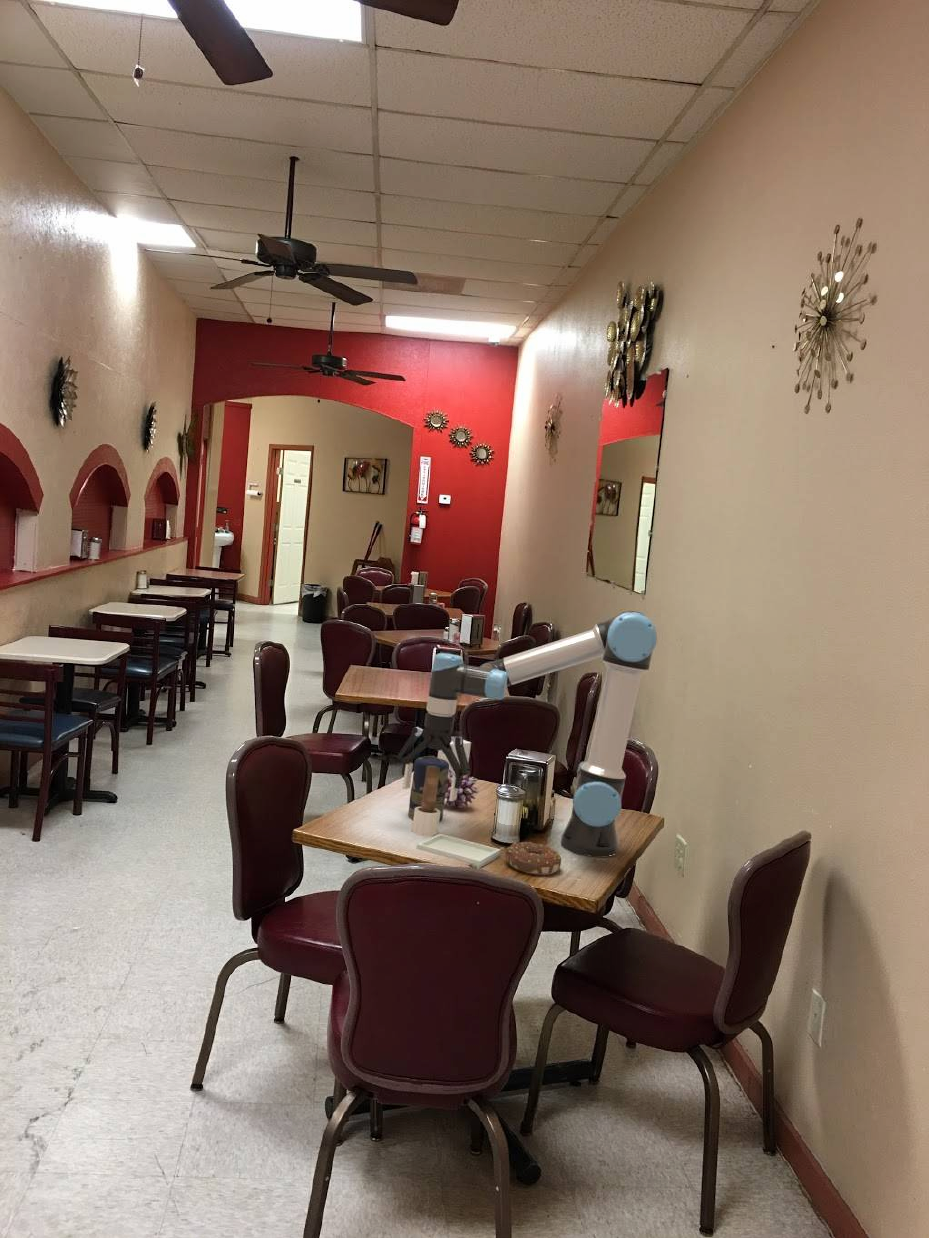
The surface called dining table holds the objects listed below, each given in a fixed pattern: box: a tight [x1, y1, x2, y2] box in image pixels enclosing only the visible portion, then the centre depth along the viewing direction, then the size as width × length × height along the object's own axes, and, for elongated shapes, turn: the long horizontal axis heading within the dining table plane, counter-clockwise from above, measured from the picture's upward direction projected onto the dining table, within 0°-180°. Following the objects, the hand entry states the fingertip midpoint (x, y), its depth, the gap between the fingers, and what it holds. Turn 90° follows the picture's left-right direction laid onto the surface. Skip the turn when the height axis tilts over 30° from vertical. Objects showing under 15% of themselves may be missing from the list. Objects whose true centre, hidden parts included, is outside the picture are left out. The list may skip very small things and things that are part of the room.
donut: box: [504, 841, 562, 876], centre depth 247 cm, size 14×14×5 cm
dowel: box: [421, 766, 440, 813], centre depth 263 cm, size 4×4×17 cm
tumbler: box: [411, 807, 440, 837], centre depth 263 cm, size 7×7×6 cm
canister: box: [407, 755, 449, 823], centre depth 276 cm, size 10×10×18 cm
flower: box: [445, 769, 479, 809], centre depth 294 cm, size 12×12×12 cm
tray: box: [415, 833, 502, 869], centre depth 250 cm, size 17×13×2 cm
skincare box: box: [437, 739, 472, 775], centre depth 316 cm, size 8×7×16 cm
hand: (429, 794), depth 263 cm, fingers open, 13 cm apart
